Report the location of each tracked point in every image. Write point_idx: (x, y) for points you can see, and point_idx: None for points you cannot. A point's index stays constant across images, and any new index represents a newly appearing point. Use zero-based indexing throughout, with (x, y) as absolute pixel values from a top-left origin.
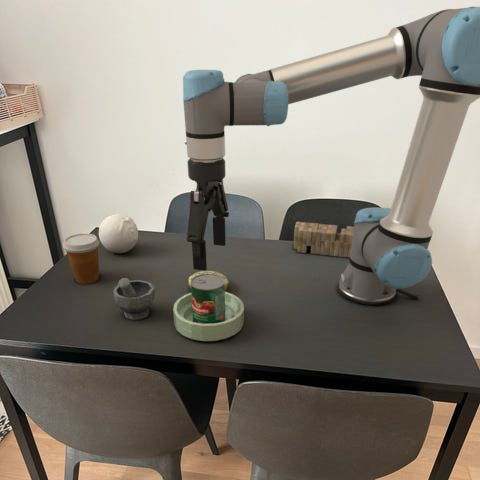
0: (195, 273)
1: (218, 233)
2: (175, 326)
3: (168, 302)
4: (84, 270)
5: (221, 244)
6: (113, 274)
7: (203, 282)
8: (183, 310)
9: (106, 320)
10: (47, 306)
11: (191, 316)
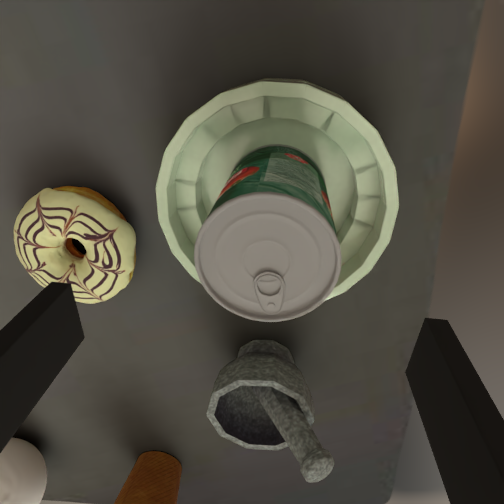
0: None
1: (29, 370)
2: None
3: (195, 313)
4: (171, 493)
5: (71, 304)
6: (122, 434)
7: (279, 276)
8: None
9: None
10: (278, 487)
11: None
